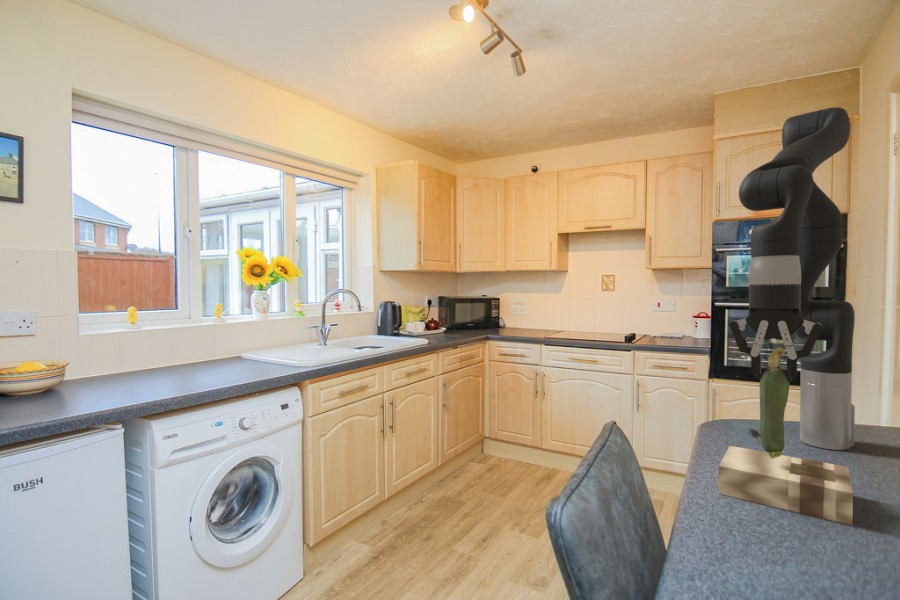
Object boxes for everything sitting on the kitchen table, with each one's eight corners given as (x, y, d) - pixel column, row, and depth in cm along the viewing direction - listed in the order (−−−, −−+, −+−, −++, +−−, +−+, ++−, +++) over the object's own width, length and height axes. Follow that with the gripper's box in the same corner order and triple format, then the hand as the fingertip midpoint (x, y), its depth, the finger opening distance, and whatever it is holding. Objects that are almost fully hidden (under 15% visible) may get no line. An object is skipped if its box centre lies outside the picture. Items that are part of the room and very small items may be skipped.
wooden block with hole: (718, 493, 82) (718, 465, 82) (729, 470, 92) (729, 445, 92) (852, 525, 71) (852, 492, 71) (847, 494, 81) (848, 466, 81)
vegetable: (753, 453, 84) (753, 344, 84) (775, 452, 85) (776, 344, 84) (771, 462, 80) (772, 347, 79) (795, 461, 80) (796, 347, 80)
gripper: (825, 281, 80) (824, 379, 81) (730, 282, 89) (730, 371, 89) (826, 281, 74) (824, 387, 75) (724, 283, 83) (724, 377, 84)
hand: (773, 378), depth 82 cm, fingers closed on vegetable, 4 cm apart
